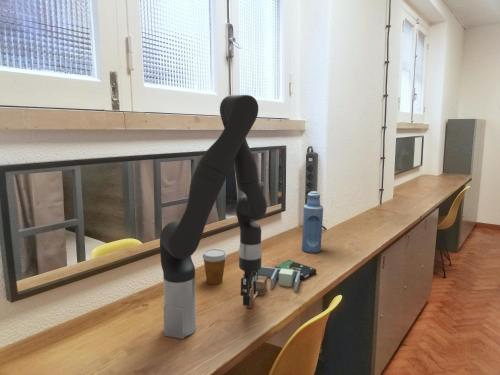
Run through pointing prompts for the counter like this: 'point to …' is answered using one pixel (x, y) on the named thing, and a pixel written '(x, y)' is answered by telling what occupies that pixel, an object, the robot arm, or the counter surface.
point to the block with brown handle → (258, 289)
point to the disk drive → (298, 269)
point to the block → (286, 277)
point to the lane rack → (275, 274)
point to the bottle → (312, 224)
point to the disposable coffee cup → (214, 265)
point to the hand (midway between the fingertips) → (249, 299)
